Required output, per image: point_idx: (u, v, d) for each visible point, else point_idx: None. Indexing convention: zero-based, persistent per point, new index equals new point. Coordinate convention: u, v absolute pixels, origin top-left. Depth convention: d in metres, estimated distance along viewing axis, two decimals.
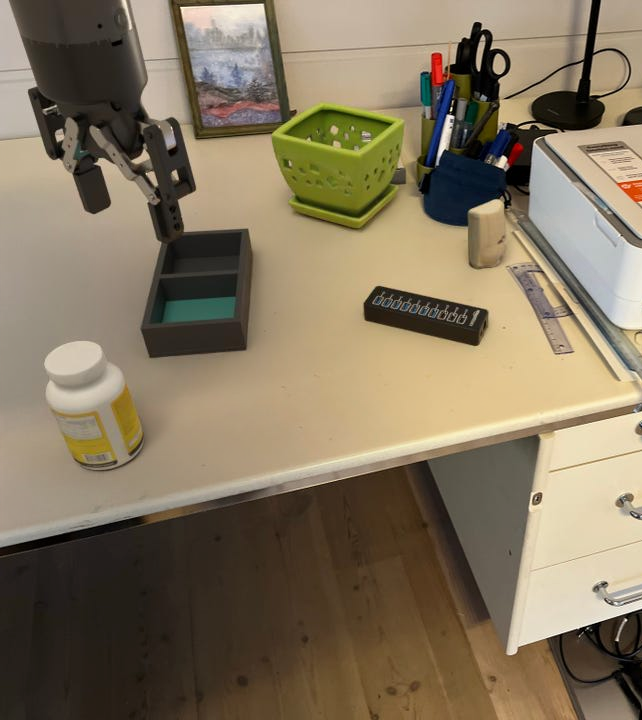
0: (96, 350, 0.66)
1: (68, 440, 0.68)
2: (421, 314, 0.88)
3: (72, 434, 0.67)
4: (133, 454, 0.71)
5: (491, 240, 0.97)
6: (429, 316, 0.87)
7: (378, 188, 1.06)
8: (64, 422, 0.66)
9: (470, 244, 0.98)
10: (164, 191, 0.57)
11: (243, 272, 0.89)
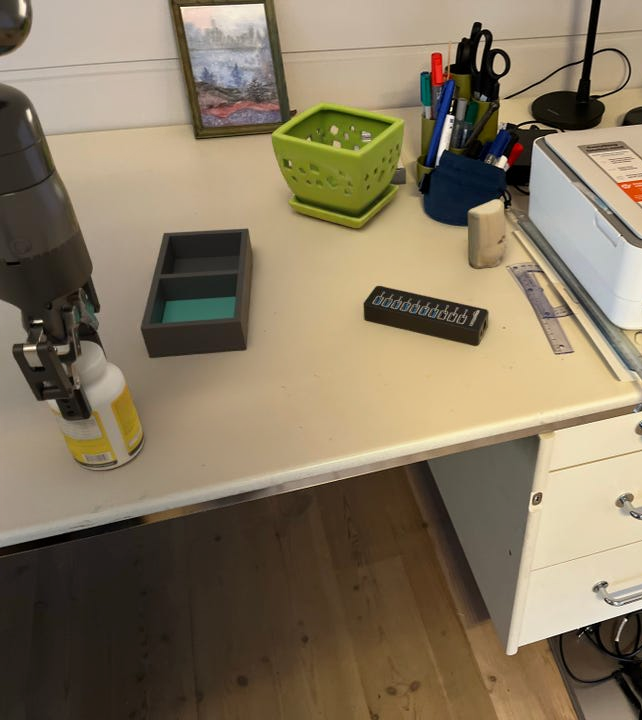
0: (96, 350, 0.66)
1: (68, 440, 0.68)
2: (421, 314, 0.88)
3: (72, 433, 0.67)
4: (133, 454, 0.71)
5: (491, 240, 0.97)
6: (429, 316, 0.87)
7: (378, 188, 1.06)
8: (65, 422, 0.66)
9: (470, 244, 0.98)
10: None
11: (243, 272, 0.89)
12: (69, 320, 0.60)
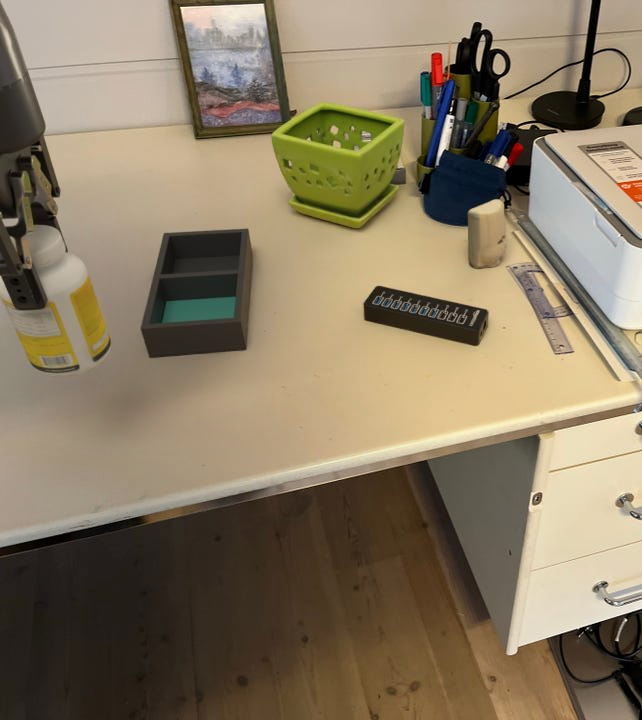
0: (53, 234, 0.58)
1: (23, 339, 0.60)
2: (421, 314, 0.88)
3: (27, 330, 0.59)
4: (98, 360, 0.64)
5: (491, 240, 0.97)
6: (429, 316, 0.87)
7: (378, 188, 1.06)
8: (17, 314, 0.58)
9: (470, 244, 0.98)
10: None
11: (243, 272, 0.89)
12: (18, 186, 0.53)
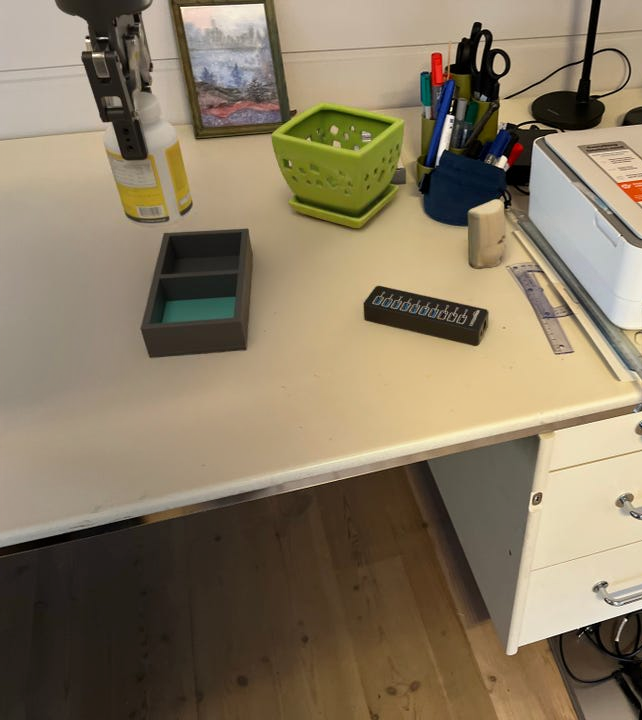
0: (152, 97, 0.69)
1: (123, 191, 0.71)
2: (421, 314, 0.88)
3: (129, 180, 0.70)
4: (183, 215, 0.74)
5: (491, 240, 0.97)
6: (429, 316, 0.87)
7: (378, 188, 1.06)
8: (122, 166, 0.69)
9: (470, 244, 0.98)
10: None
11: (243, 272, 0.89)
12: (131, 47, 0.63)
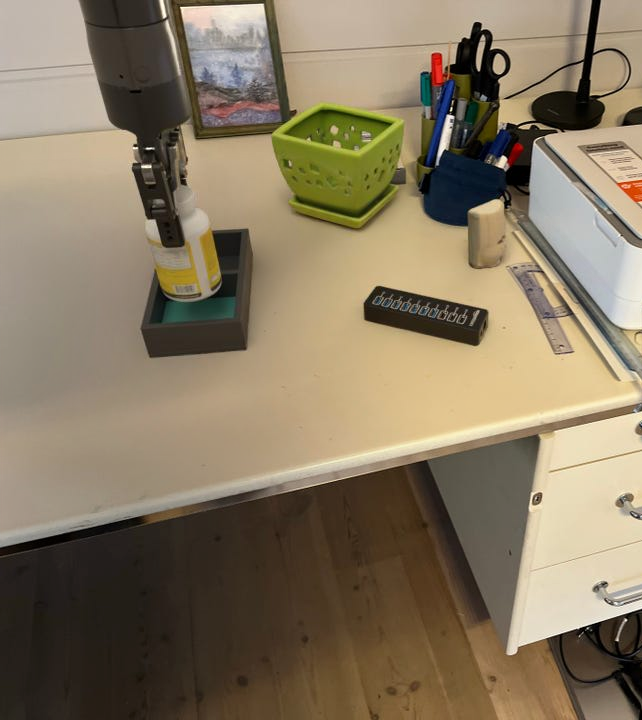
0: (188, 191, 0.78)
1: (162, 271, 0.80)
2: (421, 314, 0.88)
3: (167, 263, 0.78)
4: (214, 290, 0.83)
5: (491, 240, 0.97)
6: (429, 316, 0.87)
7: (378, 188, 1.06)
8: (161, 251, 0.78)
9: (470, 244, 0.98)
10: None
11: (243, 272, 0.89)
12: (172, 153, 0.72)
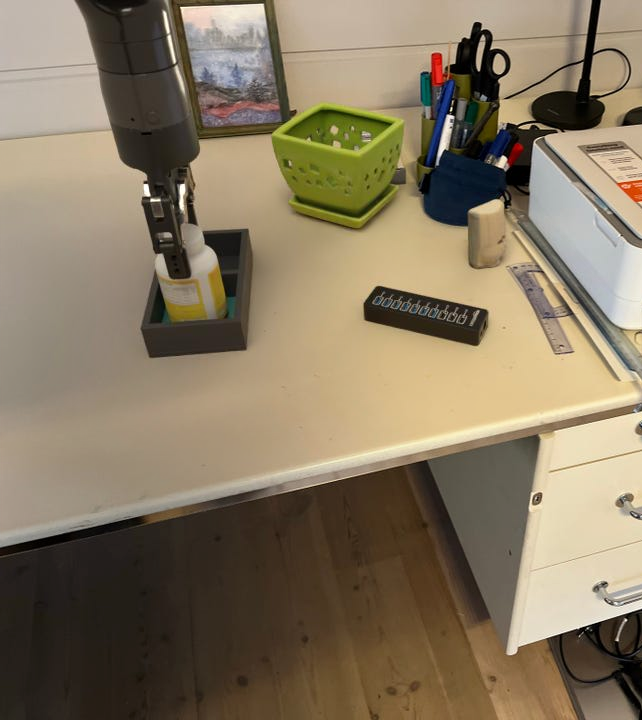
0: (197, 230, 0.80)
1: (171, 307, 0.83)
2: (421, 314, 0.88)
3: (176, 299, 0.81)
4: None
5: (491, 240, 0.97)
6: (429, 316, 0.87)
7: (378, 188, 1.06)
8: (171, 288, 0.81)
9: (470, 244, 0.98)
10: None
11: (243, 272, 0.89)
12: (181, 188, 0.75)
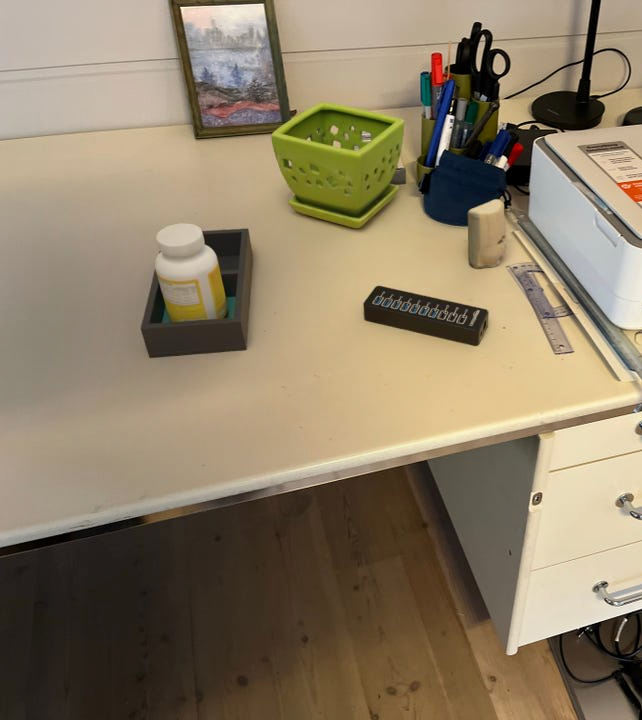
0: (196, 230, 0.80)
1: (171, 307, 0.83)
2: (421, 314, 0.88)
3: (176, 299, 0.81)
4: None
5: (491, 240, 0.97)
6: (429, 316, 0.87)
7: (378, 188, 1.06)
8: (171, 288, 0.81)
9: (470, 244, 0.98)
10: None
11: (243, 272, 0.89)
12: None
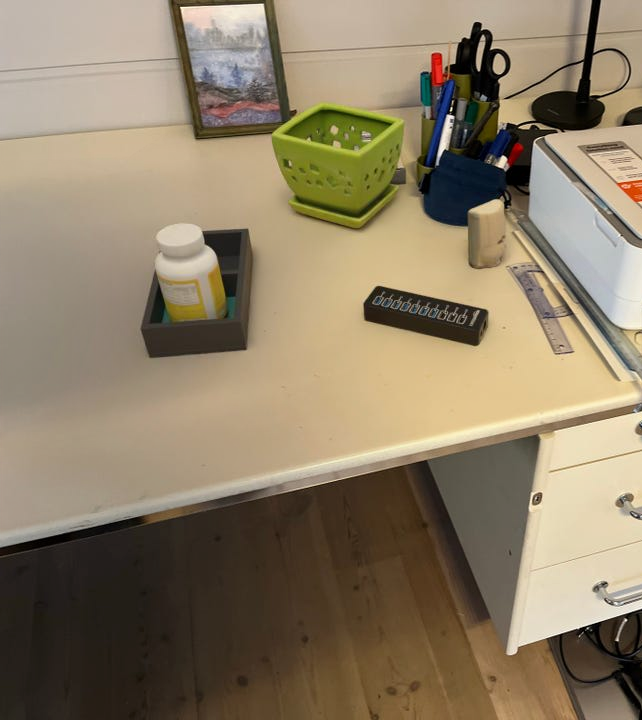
0: (196, 230, 0.80)
1: (171, 307, 0.83)
2: (421, 314, 0.88)
3: (176, 299, 0.81)
4: None
5: (491, 240, 0.97)
6: (429, 317, 0.87)
7: (378, 188, 1.06)
8: (171, 288, 0.81)
9: (470, 244, 0.98)
10: None
11: (243, 272, 0.89)
12: None
